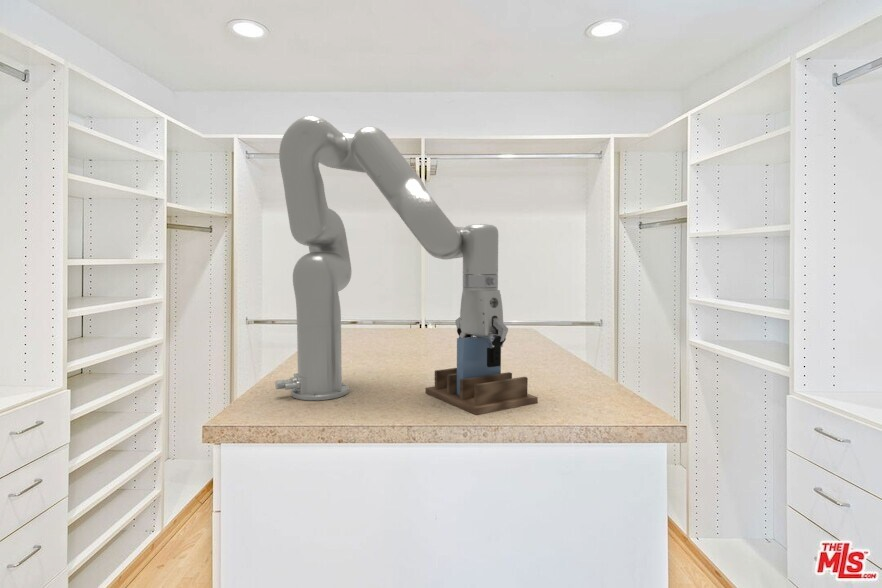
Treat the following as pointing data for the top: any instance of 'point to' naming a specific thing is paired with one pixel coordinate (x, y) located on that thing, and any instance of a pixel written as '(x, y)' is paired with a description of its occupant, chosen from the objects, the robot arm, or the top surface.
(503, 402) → the rack
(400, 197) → the robot arm
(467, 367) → the tile
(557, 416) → the top surface
